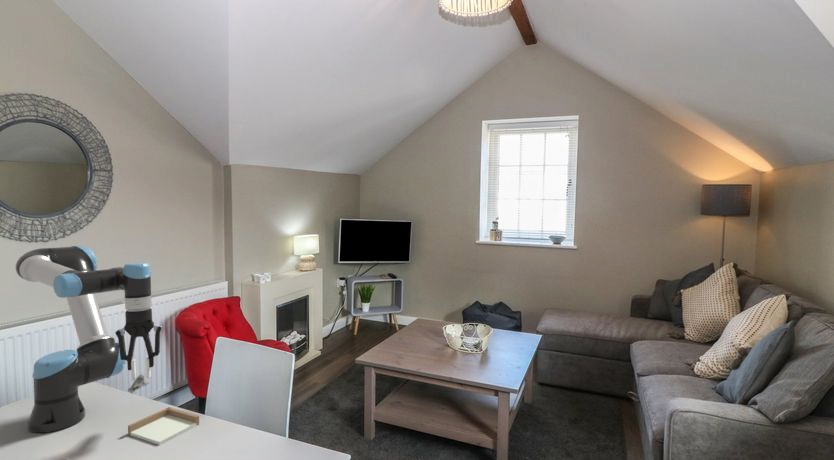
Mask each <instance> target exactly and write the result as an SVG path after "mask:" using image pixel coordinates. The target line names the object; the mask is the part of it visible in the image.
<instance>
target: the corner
mask: <svg viewBox="0 0 834 460" xmlns="http://www.w3.org/2000/svg"><path fill="white" fill-rule="evenodd" d="M198 425H200V415H199V414H195V413H194V414H193V413H191V412H187V411H185V410H181V409H176V408H174V407H165V408H163V409H162V410H160V411H157V412H154V413H153V414H151V415H150V414H149V416H146V417H143V418H142V419H139V420H138V421H136V422H134V423H131V424H128V425H127V434H128V435H129V436H132V437H134V438H137V439H140V440H142V441H146V442H149V443H153V444H156V445H158V446H161V445H162V444H164V443H167V442H168V441H170V440H172V439H174V438H176V437H177V436H179V435H181V434H183V433H185V432H188V431H189V430H190V429H193V428H194V427H197V426H198Z"/></svg>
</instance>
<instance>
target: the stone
mask: <svg viewBox="0 0 834 460" xmlns="http://www.w3.org/2000/svg"><path fill="white" fill-rule="evenodd" d="M149 384H150V381H148V378H147V376H146V374H144V373H141V374H139V375H138V376H136V379H135V380H133V383H132V384H131V386H130V387H129V388H128V389H127V392H129V393H130V394H131V395H132V394H133V393H135V391H137V390H140V389H141V388H142V387H146V386H147V385H149Z"/></svg>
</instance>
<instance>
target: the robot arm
mask: <svg viewBox="0 0 834 460" xmlns="http://www.w3.org/2000/svg"><path fill="white" fill-rule="evenodd" d="M97 263H98V260H97V257H96V255H95V253H94V252H93V250H92V249H91V248H89V247H87V246H83V245H82V246H78V245H73V246H63V247H62V246H61V247H49V248H48V247H47V248H45V247H42V248H36V249H32V250H29V251H28V252H26V253H24V254H22V255H21V256H20V257H18V260H17V261H16V264H15V272H16V273H17V275H18V276H19V277H20V278H21V279H23V280H25V281H27V282H32V283H38V282H39V283H41V284H44V285H46V286H49V287H51V288H53V291H54V293H55V294H56V296H57V297H58V298H60V299H62V298H64V299H66V301H67V304H68V307H69V310H70V311H69V312H70V313H71V318H72V322H73V324H74V328H75V331H76V334H77V338H78V341H79V345H78V346H77V347H76V350H75V349H65V350H59V351H54V352H51V353H48V354H46V355H44V356H42V357H40V358H39V359H37V360H36V361H35V363H34V364H33V372H32V378H33V396H34V397H33V400H34V404H33V407H32V410H31V412H30V416H29V418H28V421H27V429H28V431H29V432H31V433H32V432H33V433H50V432H55V431H59V430H62V429H66V428H69V427H71V426H74V425H75V424H77V423H80V422H81V421H83V419H84V418H85V417H86V409H85V407H84V405H83V402H82V401H81V398H80V396H79V387H80V386H85V385H88V384H90V383H94V382H97V381H100V380H101V381H102V380H105V379H109V378H110V377H114V376H116V375H119V374H120V373H121V372H123V370H124V368H125V366H126V363H127V371H130V372H131V381H133V382H134V381H135V380H136V378H137V368H136V367H137V366H136V358H134V352H135V351H134V350H135V346H136V341H137V338H139V337H140V338H143V341H144V345H145V349H146V352H147V357H146V359H145V363H146V364H145V365H146V377H147V379H150V378H151V376H152V372H151V371H152V370H151V369H152V368H153V367H154V365H155V359H154V358H155V357H157V356H158V355H159V354H160V352H161V350H160V349H161V332H162V329H163V325H162V324H160V325H157V324H156V323H155V322H154V321H153V309H152V308H151V307H152V306H153V305H152V302H153V301H152V282H151V281H152V280H151V276H152V273H151V268H150V267H151V266H150V264H149V263H148V262H131V263H126V264H124V265H123V267H122V266H118V267H111V268H109V269H99V270H97V269H98V265H97ZM116 291H124V308H125V310H126V311H124V313H125V314H124V315H125V325H124V326H123V327H122V328H120V329H117V330H116V331H115V336H116V337H117V340H118V342H116V341H115V338H114V337H113V336H110V335H109V334H108V332H107V329H106V326H105V322H104V319H103V316H102V312H101V309H100V307H99V304H98V300H97V297H96V294H99V293H106V292H107V293H108V292H116ZM152 330H153V331H154V332H155V334H154V350H153V347H152V342H151V338H150V332H151V331H152ZM125 332H126V333H127V335H129V336H130V337H129V346H128V350H126V342H125V340H126V339H125V334H126V333H125ZM127 351H128V352H127Z"/></svg>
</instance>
